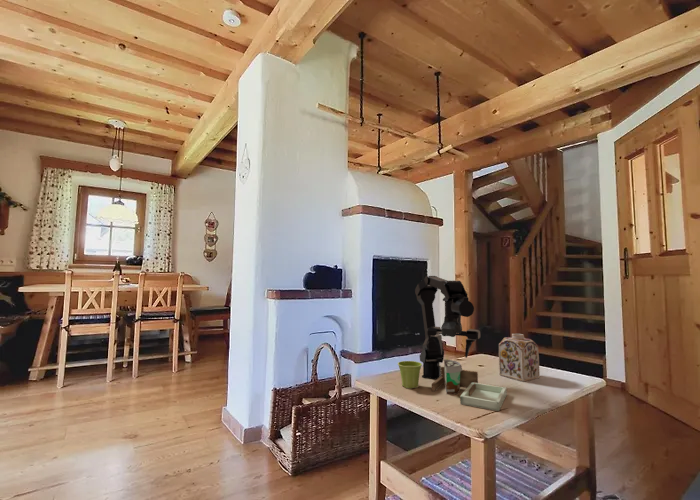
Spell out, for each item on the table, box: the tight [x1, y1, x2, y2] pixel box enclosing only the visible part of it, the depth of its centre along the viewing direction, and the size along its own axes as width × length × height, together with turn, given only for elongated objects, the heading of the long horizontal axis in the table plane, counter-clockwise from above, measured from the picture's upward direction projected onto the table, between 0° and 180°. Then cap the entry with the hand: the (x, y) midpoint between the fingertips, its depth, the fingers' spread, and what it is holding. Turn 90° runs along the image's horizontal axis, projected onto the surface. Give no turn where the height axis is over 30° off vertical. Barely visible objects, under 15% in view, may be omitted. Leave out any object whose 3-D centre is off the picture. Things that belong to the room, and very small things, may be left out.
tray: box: [459, 382, 508, 412], centre depth 121 cm, size 12×18×3 cm, turn 149°
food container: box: [443, 359, 463, 395], centre depth 130 cm, size 12×6×10 cm, turn 168°
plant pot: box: [397, 360, 423, 389], centre depth 135 cm, size 9×9×9 cm
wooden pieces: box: [431, 366, 479, 396], centre depth 131 cm, size 14×13×6 cm
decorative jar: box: [498, 333, 541, 383], centre depth 149 cm, size 12×12×18 cm
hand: (453, 356), depth 129 cm, fingers open, 9 cm apart
